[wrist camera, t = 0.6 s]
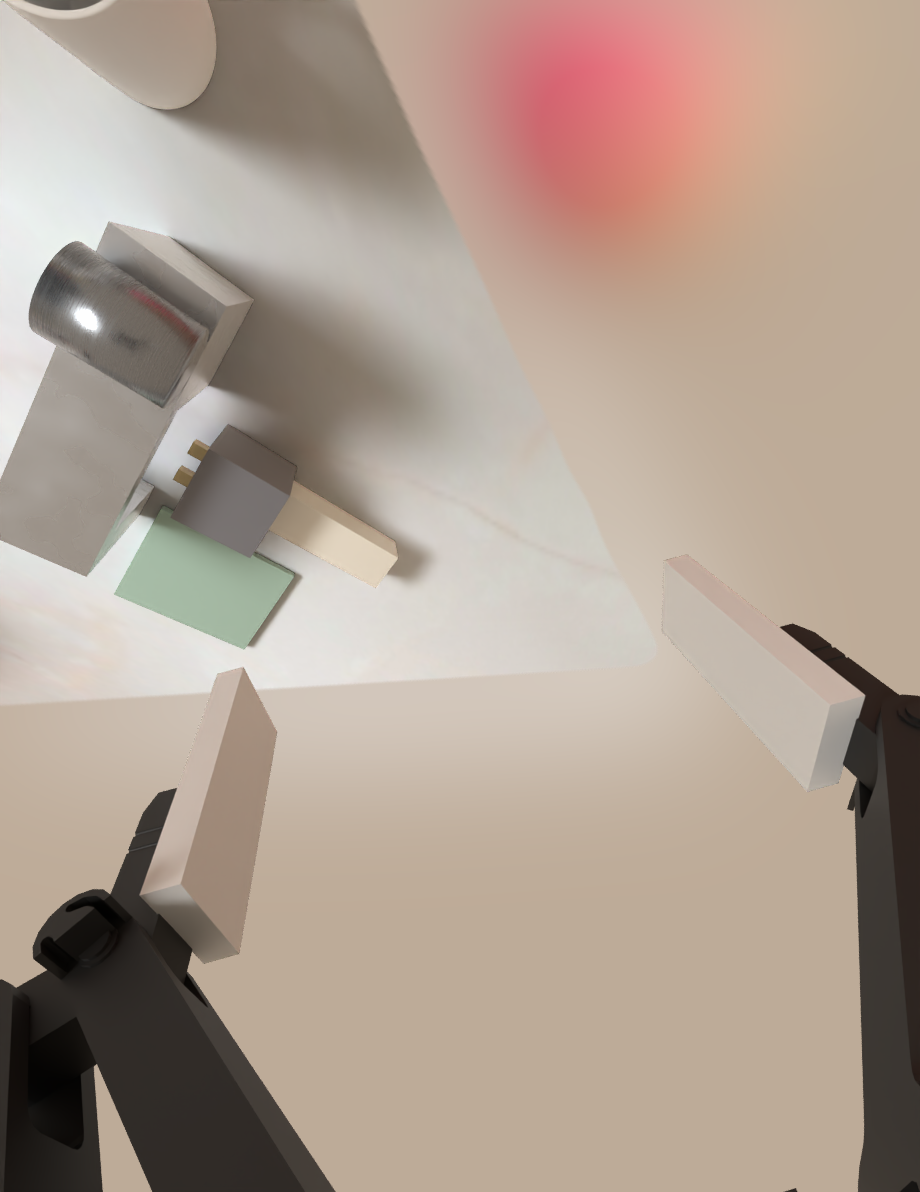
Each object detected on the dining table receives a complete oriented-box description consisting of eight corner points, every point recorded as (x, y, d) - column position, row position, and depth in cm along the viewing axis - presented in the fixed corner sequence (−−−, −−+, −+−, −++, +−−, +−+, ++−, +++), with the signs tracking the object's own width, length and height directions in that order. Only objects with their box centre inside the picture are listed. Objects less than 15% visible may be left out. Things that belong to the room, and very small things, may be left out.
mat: (116, 590, 39) (113, 594, 38) (163, 505, 36) (160, 508, 36) (245, 645, 43) (244, 649, 43) (294, 573, 41) (294, 576, 40)
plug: (179, 476, 36) (152, 509, 31) (213, 414, 34) (190, 438, 29) (366, 578, 42) (370, 619, 37) (402, 531, 41) (410, 566, 36)
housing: (59, 475, 34) (-74, 567, 23) (169, 236, 29) (65, 210, 18) (139, 514, 36) (52, 616, 25) (254, 299, 31) (207, 310, 20)
